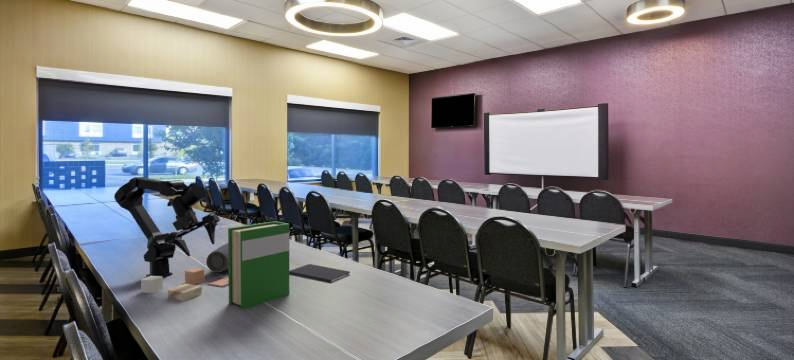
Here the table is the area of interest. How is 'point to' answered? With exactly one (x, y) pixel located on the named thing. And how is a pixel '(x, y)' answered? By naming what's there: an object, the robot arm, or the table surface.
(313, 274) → the notebook
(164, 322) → the table surface
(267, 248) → the hardback book
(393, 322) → the table surface
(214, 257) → the bluetooth speaker
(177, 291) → the maple base block
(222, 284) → the tile
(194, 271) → the terracotta cube
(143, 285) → the offwhite cube
